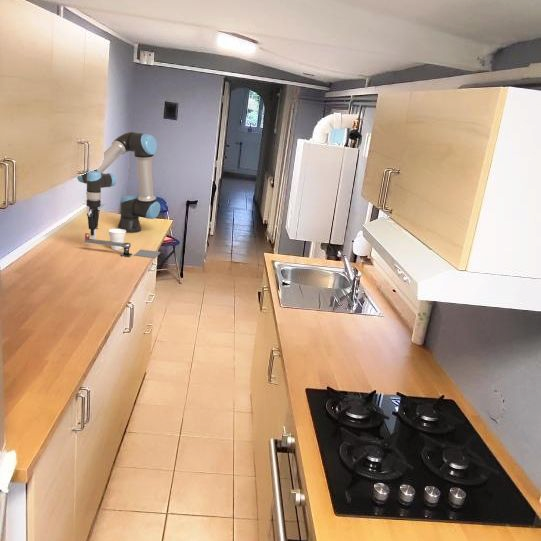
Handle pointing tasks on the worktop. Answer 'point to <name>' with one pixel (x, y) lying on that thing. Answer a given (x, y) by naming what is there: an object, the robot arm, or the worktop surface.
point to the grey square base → (126, 253)
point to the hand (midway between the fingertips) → (93, 240)
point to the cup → (117, 237)
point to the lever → (105, 242)
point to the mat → (147, 253)
